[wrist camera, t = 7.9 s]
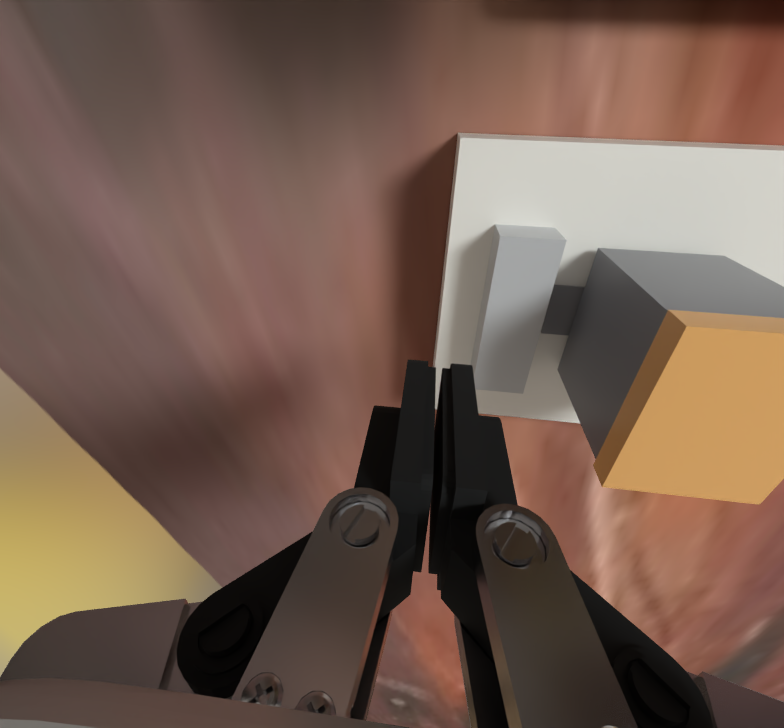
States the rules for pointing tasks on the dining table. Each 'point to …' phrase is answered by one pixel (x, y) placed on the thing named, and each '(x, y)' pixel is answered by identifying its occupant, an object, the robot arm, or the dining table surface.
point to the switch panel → (581, 243)
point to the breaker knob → (679, 374)
